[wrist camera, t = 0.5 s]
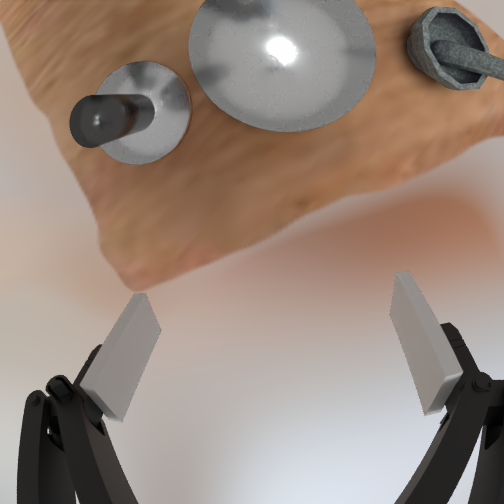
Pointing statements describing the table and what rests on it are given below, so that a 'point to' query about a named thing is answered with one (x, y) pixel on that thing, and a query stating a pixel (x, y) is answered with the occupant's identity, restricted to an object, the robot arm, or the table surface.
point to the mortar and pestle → (452, 50)
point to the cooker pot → (283, 60)
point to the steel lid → (134, 114)
